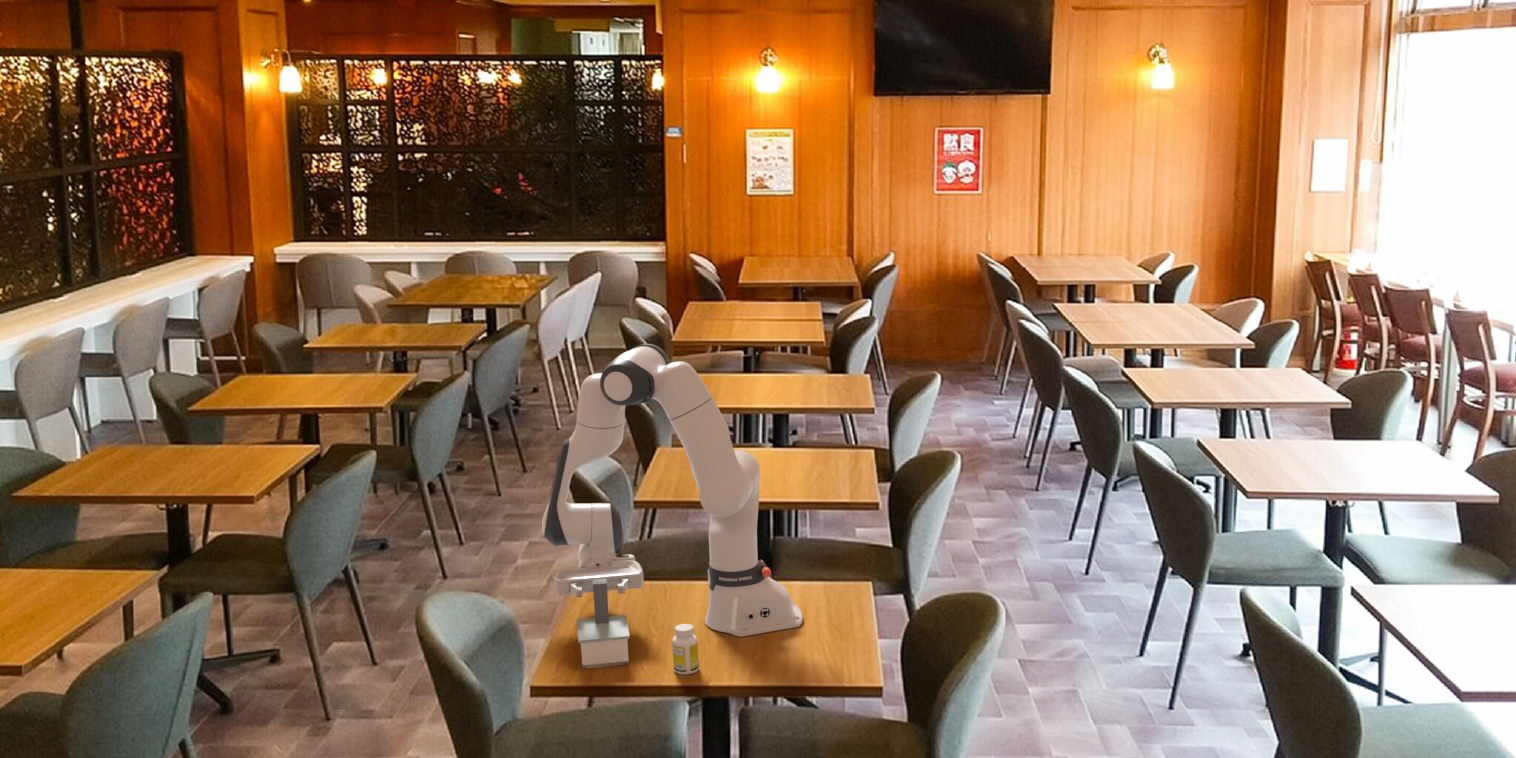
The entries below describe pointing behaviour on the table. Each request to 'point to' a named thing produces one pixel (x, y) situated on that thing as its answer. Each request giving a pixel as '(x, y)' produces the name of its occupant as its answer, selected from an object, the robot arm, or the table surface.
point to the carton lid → (602, 619)
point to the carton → (604, 653)
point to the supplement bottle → (685, 650)
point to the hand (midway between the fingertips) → (600, 592)
